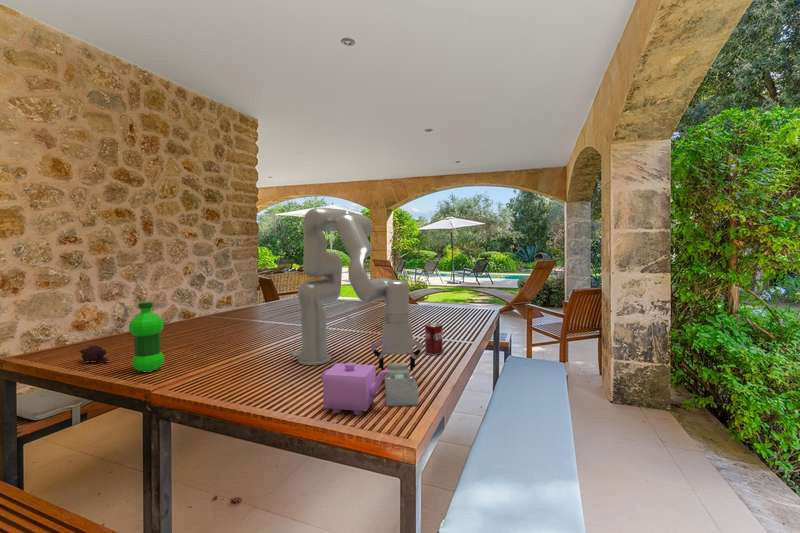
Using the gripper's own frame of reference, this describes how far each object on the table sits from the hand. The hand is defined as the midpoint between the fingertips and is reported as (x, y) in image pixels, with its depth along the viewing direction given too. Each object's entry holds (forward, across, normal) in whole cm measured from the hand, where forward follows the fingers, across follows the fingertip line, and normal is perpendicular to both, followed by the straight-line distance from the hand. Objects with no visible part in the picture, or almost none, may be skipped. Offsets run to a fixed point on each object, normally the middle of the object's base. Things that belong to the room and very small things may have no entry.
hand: (396, 369), depth 127 cm
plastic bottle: (+6, -90, +20) cm, 92 cm away
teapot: (+4, -12, -19) cm, 23 cm away
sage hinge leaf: (+4, 0, -3) cm, 5 cm away
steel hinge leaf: (+4, 0, -12) cm, 13 cm away
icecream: (+6, -118, +34) cm, 123 cm away
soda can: (+4, +17, +32) cm, 37 cm away
